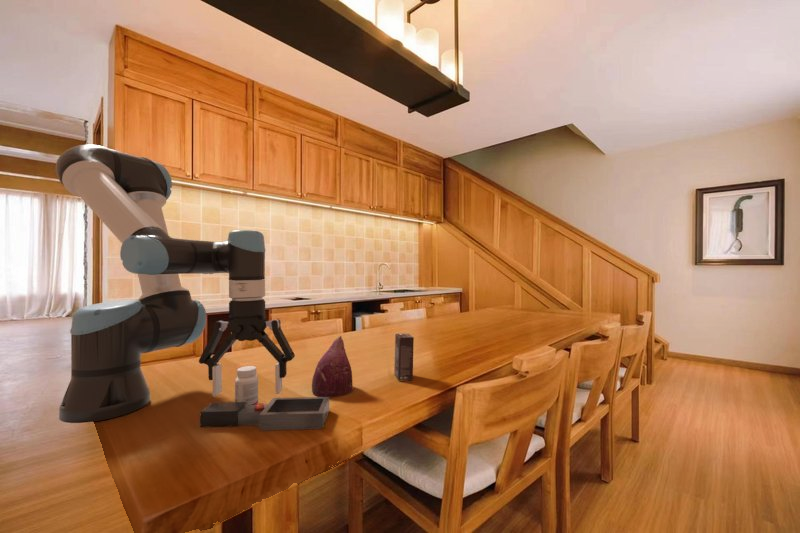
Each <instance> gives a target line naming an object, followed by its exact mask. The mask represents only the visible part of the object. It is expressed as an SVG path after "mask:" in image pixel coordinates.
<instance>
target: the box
mask: <svg viewBox="0 0 800 533" xmlns="http://www.w3.org/2000/svg"><path fill="white" fill-rule="evenodd" d="M394 340H395V341H394V345H395V346H394V373H393V375H394V376H395V377H396V379H397V381H399V382H401V381H402V382H405V381H413V380H414V376H413V375H414V336H412V335H411V334H409V333H395V339H394Z"/></svg>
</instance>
